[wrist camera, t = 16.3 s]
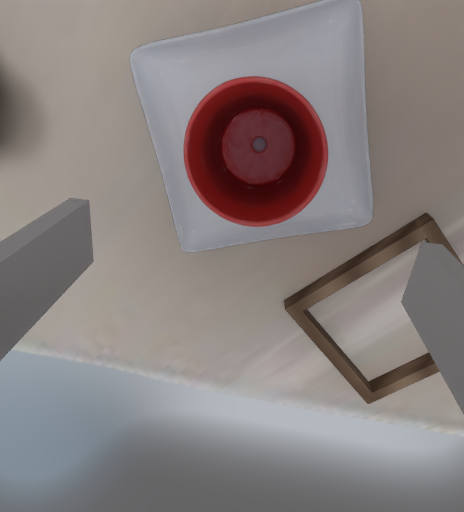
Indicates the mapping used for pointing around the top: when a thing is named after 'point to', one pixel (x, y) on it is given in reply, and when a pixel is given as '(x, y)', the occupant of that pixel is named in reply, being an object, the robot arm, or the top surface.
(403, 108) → the top surface
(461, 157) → the top surface
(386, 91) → the top surface
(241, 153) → the flower pot
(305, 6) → the salad plate
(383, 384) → the holder frame
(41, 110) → the top surface
